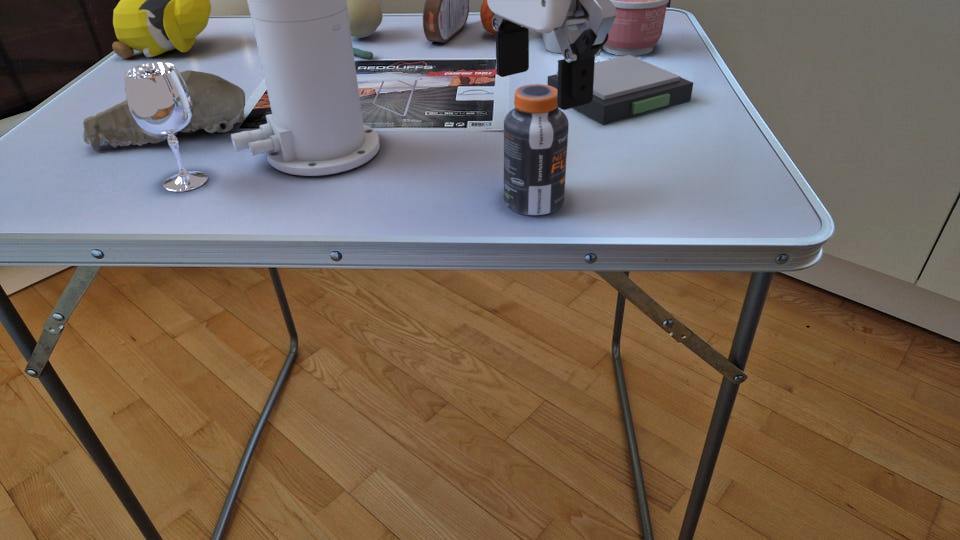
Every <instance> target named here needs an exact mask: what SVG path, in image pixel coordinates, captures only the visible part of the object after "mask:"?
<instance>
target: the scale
mask: <svg viewBox="0 0 960 540" xmlns="http://www.w3.org/2000/svg"><path fill="white" fill-rule="evenodd" d="M546 85H549V86H552V87H554V88H556V89H557V90H558V70H557V71H556V73H555V74H552V75H547V83H546ZM693 87H694V82H693V81H690V80H689V79H686V78H684V77H681V75H679V74H676V73H673V72H671V71H668V70H666V69H664V68H662V67H659V66H657V65H654V64H652V63H649V62H647V61H644V60H642V59H640V58H638V57H636V56H630V55H627V56H619V57H614V58H611V59H605V60H600V61H596V62H595V65H594V84H593V99H592V101H591V102H590V103H588V104H585V105H581V106H577V107H574V108H573V109H574V110H575V111H577V112H579V113H581V114H582V115H585V116H586V117H588V118H590V119H592V120H594V121H595V122H597V123H599V124H600V125H602V126H603V125H608V124H610V123H611V124H612V123H614V122H618V121H621V120H626V119H630V118H633V117H638V116H640V115H644V114H647V113H651V112H655V111H659V110H662V109H665V108H669V107H673V106H677V105H680V104H684V103H687V102H691V100H692V96H693V90H694V89H693Z"/></svg>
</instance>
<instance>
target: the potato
mask: <svg viewBox="0 0 960 540" xmlns="http://www.w3.org/2000/svg"><path fill="white" fill-rule="evenodd" d="M346 2H347V9H348V16H349V23H350V31H351V37H352V38H353V37H354V38H358V39H359V38H361V39H362V38H368V37H370V36H371V35H373V34H374V33H375V32H376V30H377V29H378V28H379V27H380V25H381V24H382V21H383V11H382V8H381V6H380V4H379V1H378V0H346Z"/></svg>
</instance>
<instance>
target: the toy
mask: <svg viewBox="0 0 960 540" xmlns="http://www.w3.org/2000/svg"><path fill="white" fill-rule="evenodd" d="M211 5H212V4H211V0H119V1H118V2H117V5H116V6H115V8H114V9H113V12H112V13H113V15H112V26H113V28H114V35H115V37H116V39H117V41H113V42H112V45H111V47H112V50H113V52H114V53H115V55H117V56H118V57H120V58H123V59H129V58H132V57H133V56H134V55H135V52H134V51H138V52H142V54H143V55H144V56H145V57H146V58H153V57H156V56H159V55H160V56H161V55H162V54H164V53H166V52H171V51H174V50H177V51H179V52H181V53H188V52H189V51H190V50H191V49H193V48H192V47H193V46H194V44H195V43H196V37H198V36H199V35H200V34H201V33H202V32H203V31H204V30H205V29H206V28H207V27H208V24H209V23H208V22H209V20H210V15H211V12H212V6H211Z"/></svg>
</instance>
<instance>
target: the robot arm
mask: <svg viewBox="0 0 960 540" xmlns="http://www.w3.org/2000/svg"><path fill="white" fill-rule="evenodd" d="M246 3H247V7H248V11H249V15H250V17H251V18H250V19H251V24H252V28H253V32H254V37H255V41H256V45H257V50H258V56H259V59H260V64H261V67H262V68H261V69H262V74H263V79H264V83H265V87H266V92H267V96H268V101H269V106H270V111H271V113H269V114H265V119H266V122H267V123H263V124H260V125H259V128H257V129H253V130H244V131H243V130H242V131H240V132H235V133H231V134H230V139H231V142H232V145H233V148H234V150H235V151H234V152H235V153H237V152H241V151H246V150H249V152H250V154H251V156H257V155H261V154H264V153H265V155H266V158H267V162H268V163H269V165H270V166H271V167H273V168H274V169H276V170H277V171H279V172H282V173H285V174H288V175H295V176H301V177H321V176H329V175H335V174H339V173H343V172H344V173H345V172H348V171H351V170H353V169H356V168H359V167H360V166H363V165H364V164H366V163H368V162H369V161H371V160H372V159H373V158H374V157H375V156H376V155H377V154H378V152H379V150H380V147H381V143H380V136H379V134H378V132H377V131H376V130H375V129H374V128H373V127H371V126H369V125H367V124H364V120H363V112H362V107H361V106H362V105H361V97H360V91H359V84H358V75H357V68H356V61H355V55H354V53H353V48H354V47H353V37H352V36H351V31H350V23H349V16H348V9H347V2H346V0H246ZM487 3H488V6H489V8H490V9H491V11H492V13H493V15H494V16H493V18H492V26H493V28H494V30H495V31H498V30H499V32H495V36H494V37H495V65H496V68H495V69H496V75H497V76H499V77H501V78H504V77H510V76H512V75H517V74H521V73H525V72H527V71H528V70H529V69H530V33H529V31H533V32H535V33H537V34H541V35H542V34H546V33H550V32H552V31H553V30H554V33H555V35H556V38H557V41H558V43H559V46H560V49H561V51H562V53H561V54H562V56H563V59H559V60H557V71H558V90H557V106H558V107H559V108H558V109H559V110H561V111H562V110H563V111H566V110H569V109H574V107H577V106H581V105H585V104H588V103H590V102H591V101H592V99H593V84H594V65H595V63H596V57H599V56H600V55H601V52H602V48H603V45H604V44H605V43H606V42H607V40H608V33H609V31H610V29H611V26H612V24H613V22H614V19H615V17H616V14H617V11H616V8H615V6H614V5H613V3H612V2H611V1H610V0H487ZM573 30H579V33H580V36H579V37H578V38H577V40H576V41H575V42H574V41H573V39H572V36H571V34H570V31H573Z"/></svg>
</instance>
